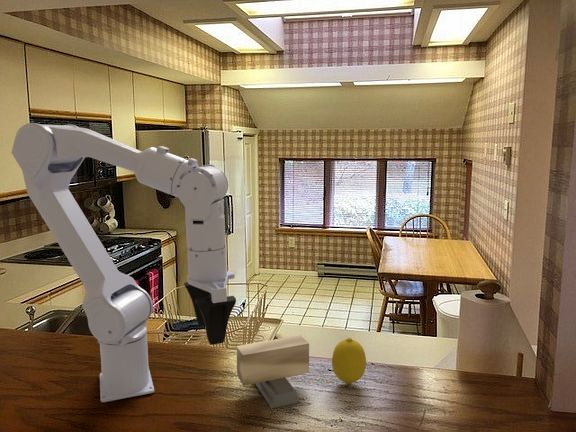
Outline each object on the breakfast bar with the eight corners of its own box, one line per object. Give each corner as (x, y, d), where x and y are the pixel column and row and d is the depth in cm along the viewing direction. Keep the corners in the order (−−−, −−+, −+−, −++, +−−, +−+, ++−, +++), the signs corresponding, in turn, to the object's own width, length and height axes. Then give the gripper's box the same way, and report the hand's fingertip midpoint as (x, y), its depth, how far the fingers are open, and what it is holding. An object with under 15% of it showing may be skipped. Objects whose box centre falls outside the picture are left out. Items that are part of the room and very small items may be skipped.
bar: (237, 375, 77) (236, 345, 76) (300, 363, 81) (300, 335, 80) (243, 385, 73) (242, 355, 73) (309, 372, 78) (309, 343, 77)
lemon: (324, 382, 80) (325, 336, 79) (349, 372, 83) (349, 328, 82) (348, 396, 75) (348, 348, 74) (372, 385, 79) (373, 339, 77)
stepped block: (251, 378, 81) (251, 363, 81) (276, 373, 83) (276, 358, 83) (271, 408, 72) (271, 391, 72) (299, 402, 74) (299, 386, 73)
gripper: (246, 254, 67) (249, 347, 69) (220, 236, 80) (224, 314, 82) (195, 260, 64) (200, 356, 66) (177, 240, 77) (182, 320, 79)
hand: (210, 333), depth 74 cm, fingers open, 7 cm apart
